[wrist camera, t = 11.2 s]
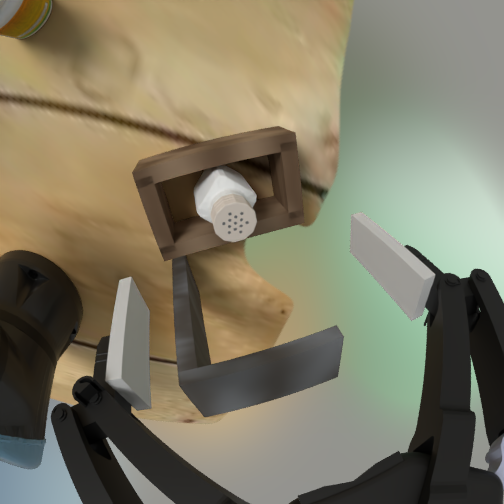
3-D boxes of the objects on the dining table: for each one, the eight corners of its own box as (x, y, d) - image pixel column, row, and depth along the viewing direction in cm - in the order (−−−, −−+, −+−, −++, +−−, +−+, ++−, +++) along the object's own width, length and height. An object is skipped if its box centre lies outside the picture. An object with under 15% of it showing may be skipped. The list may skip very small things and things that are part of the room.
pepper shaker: (224, 207, 29) (243, 255, 22) (190, 190, 27) (197, 234, 20) (244, 175, 28) (273, 212, 20) (211, 156, 26) (226, 186, 18)
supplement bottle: (63, -4, 12) (21, -32, 4) (37, 42, 14) (-16, 31, 6) (28, -7, 10) (-18, -28, 2) (4, 37, 12) (-49, 31, 4)
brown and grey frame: (187, 295, 34) (204, 417, 21) (139, 160, 24) (94, 249, 11) (294, 265, 36) (357, 368, 22) (278, 126, 26) (385, 173, 12)
